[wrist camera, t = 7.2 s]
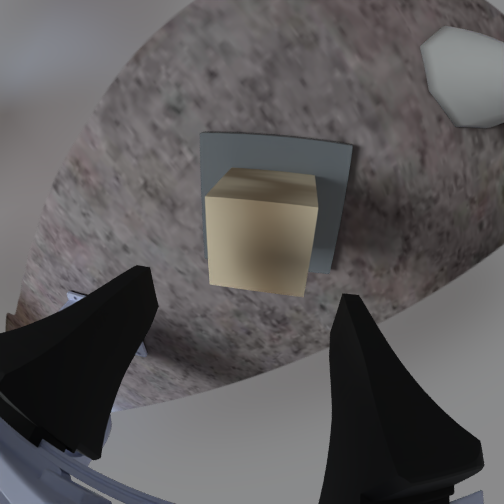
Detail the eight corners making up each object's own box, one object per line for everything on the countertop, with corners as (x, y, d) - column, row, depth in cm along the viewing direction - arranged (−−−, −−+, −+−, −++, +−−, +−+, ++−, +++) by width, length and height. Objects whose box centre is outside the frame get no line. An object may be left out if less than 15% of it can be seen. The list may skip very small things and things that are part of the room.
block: (231, 239, 19) (209, 284, 15) (231, 167, 17) (204, 196, 12) (305, 247, 19) (303, 296, 14) (314, 175, 16) (318, 207, 12)
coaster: (207, 254, 21) (204, 258, 20) (203, 131, 16) (199, 133, 16) (328, 269, 20) (329, 274, 19) (351, 144, 15) (352, 146, 14)
